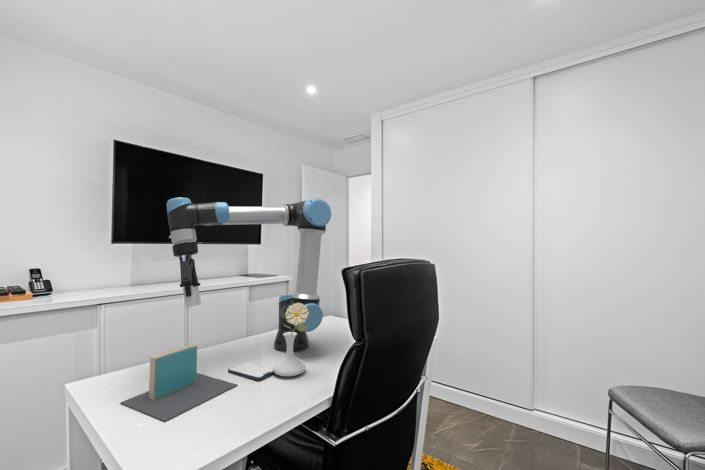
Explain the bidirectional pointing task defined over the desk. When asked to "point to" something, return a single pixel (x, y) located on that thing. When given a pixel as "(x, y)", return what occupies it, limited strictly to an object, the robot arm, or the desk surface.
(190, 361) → the tile
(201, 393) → the mat
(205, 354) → the desk surface
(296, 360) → the flower in vase
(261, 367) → the smartphone
